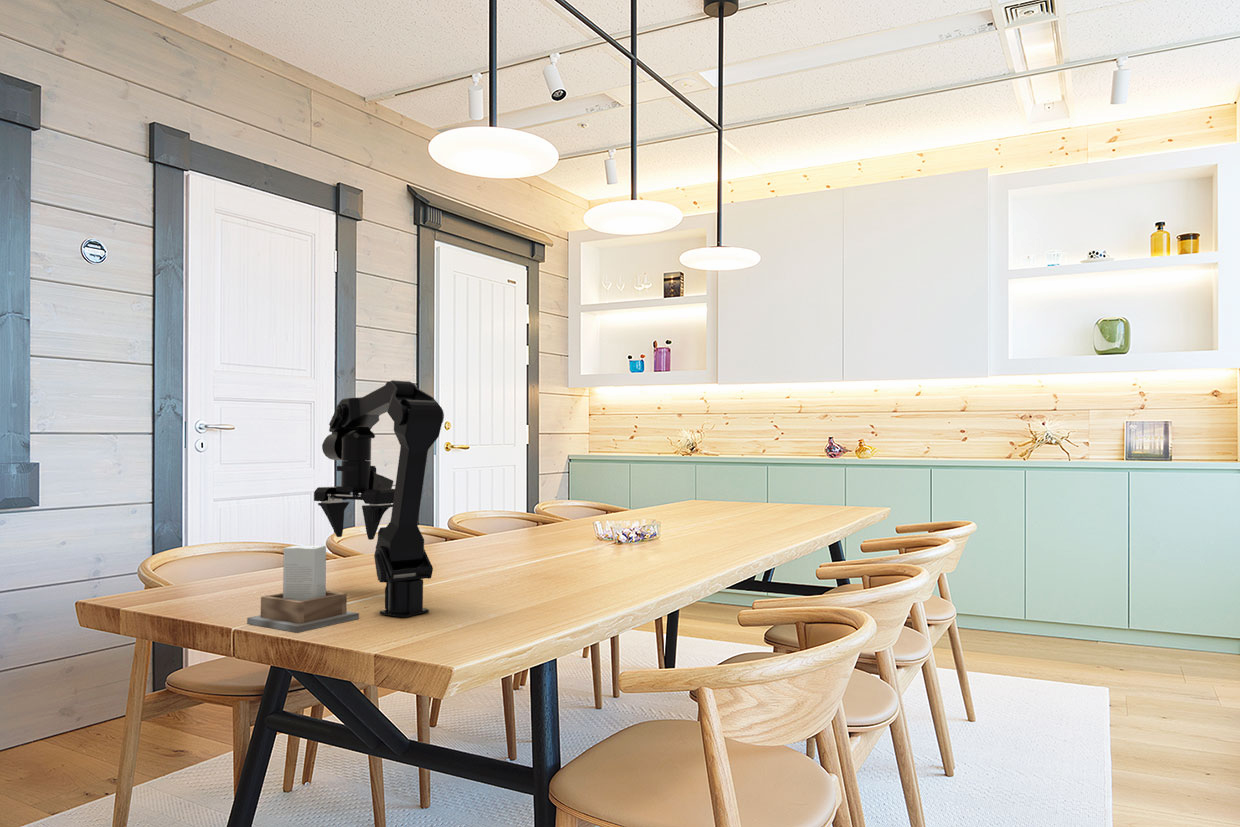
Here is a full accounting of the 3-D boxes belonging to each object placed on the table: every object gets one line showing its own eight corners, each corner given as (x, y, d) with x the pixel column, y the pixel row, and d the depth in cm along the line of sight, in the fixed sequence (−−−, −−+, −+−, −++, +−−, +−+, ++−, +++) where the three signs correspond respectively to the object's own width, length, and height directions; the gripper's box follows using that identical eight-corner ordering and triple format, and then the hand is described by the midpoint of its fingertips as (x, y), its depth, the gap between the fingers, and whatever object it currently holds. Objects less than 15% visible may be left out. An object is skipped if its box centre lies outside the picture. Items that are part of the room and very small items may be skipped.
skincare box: (326, 613, 147) (327, 545, 148) (314, 618, 143) (315, 548, 143) (293, 612, 148) (295, 544, 148) (281, 617, 144) (282, 547, 144)
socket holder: (358, 618, 148) (359, 593, 148) (297, 632, 136) (297, 604, 137) (309, 611, 154) (310, 586, 154) (247, 623, 143) (247, 597, 143)
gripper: (418, 461, 171) (417, 537, 170) (355, 459, 180) (354, 532, 180) (377, 461, 161) (376, 542, 161) (312, 460, 171) (311, 536, 170)
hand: (354, 538), depth 168 cm, fingers open, 9 cm apart
